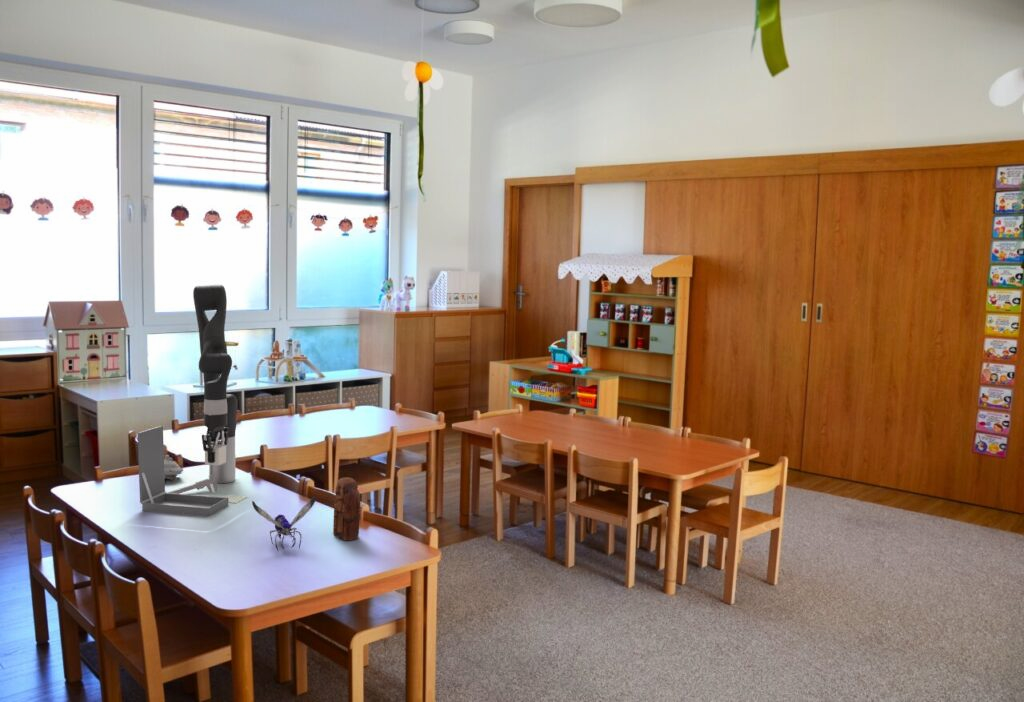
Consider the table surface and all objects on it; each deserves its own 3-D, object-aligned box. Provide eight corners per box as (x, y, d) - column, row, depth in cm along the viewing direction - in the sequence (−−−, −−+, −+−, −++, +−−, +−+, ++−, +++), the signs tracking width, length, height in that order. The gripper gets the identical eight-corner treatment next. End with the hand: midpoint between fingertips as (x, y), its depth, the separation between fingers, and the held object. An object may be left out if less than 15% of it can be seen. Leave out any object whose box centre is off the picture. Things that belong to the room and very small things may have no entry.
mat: (225, 496, 289) (225, 494, 289) (247, 498, 288) (247, 496, 288) (214, 502, 281) (214, 500, 281) (236, 504, 280) (236, 502, 280)
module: (212, 461, 282) (212, 444, 282) (226, 462, 281) (226, 445, 281) (204, 464, 277) (204, 447, 277) (218, 465, 276) (218, 448, 276)
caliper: (215, 491, 297) (216, 473, 296) (217, 491, 296) (217, 474, 295) (156, 499, 284) (156, 480, 283) (156, 499, 283) (156, 481, 282)
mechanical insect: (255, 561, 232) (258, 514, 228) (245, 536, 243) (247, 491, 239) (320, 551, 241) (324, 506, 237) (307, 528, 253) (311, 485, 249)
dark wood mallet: (327, 532, 254) (328, 475, 253) (346, 528, 258) (347, 473, 257) (344, 542, 245) (345, 484, 243) (363, 539, 249) (365, 481, 247)
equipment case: (160, 500, 281) (160, 425, 278) (228, 506, 277) (228, 430, 275) (137, 511, 268) (137, 432, 265) (208, 517, 264) (208, 437, 262)
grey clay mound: (157, 482, 313) (160, 455, 316) (187, 484, 313) (190, 456, 315) (141, 481, 302) (145, 452, 304) (172, 483, 301) (176, 454, 303)
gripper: (216, 407, 285) (216, 455, 287) (193, 414, 271) (194, 464, 273) (236, 408, 284) (236, 456, 286) (214, 416, 270) (214, 466, 272)
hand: (215, 460), depth 279 cm, fingers closed on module, 5 cm apart
